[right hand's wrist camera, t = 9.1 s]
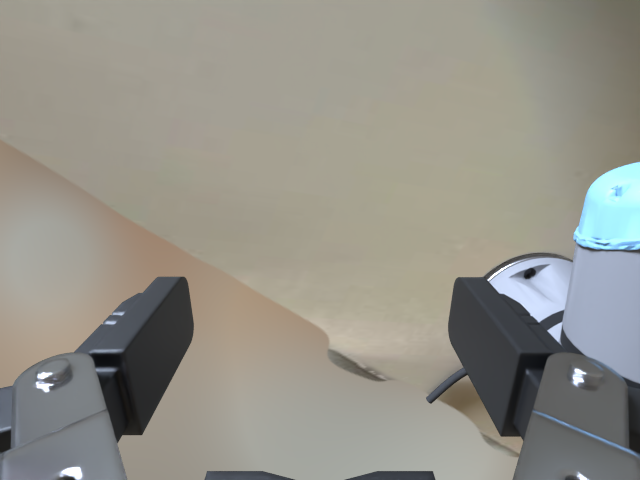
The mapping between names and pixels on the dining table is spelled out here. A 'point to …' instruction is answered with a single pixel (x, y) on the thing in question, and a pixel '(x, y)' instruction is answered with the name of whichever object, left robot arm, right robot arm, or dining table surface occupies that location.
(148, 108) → the dining table surface
